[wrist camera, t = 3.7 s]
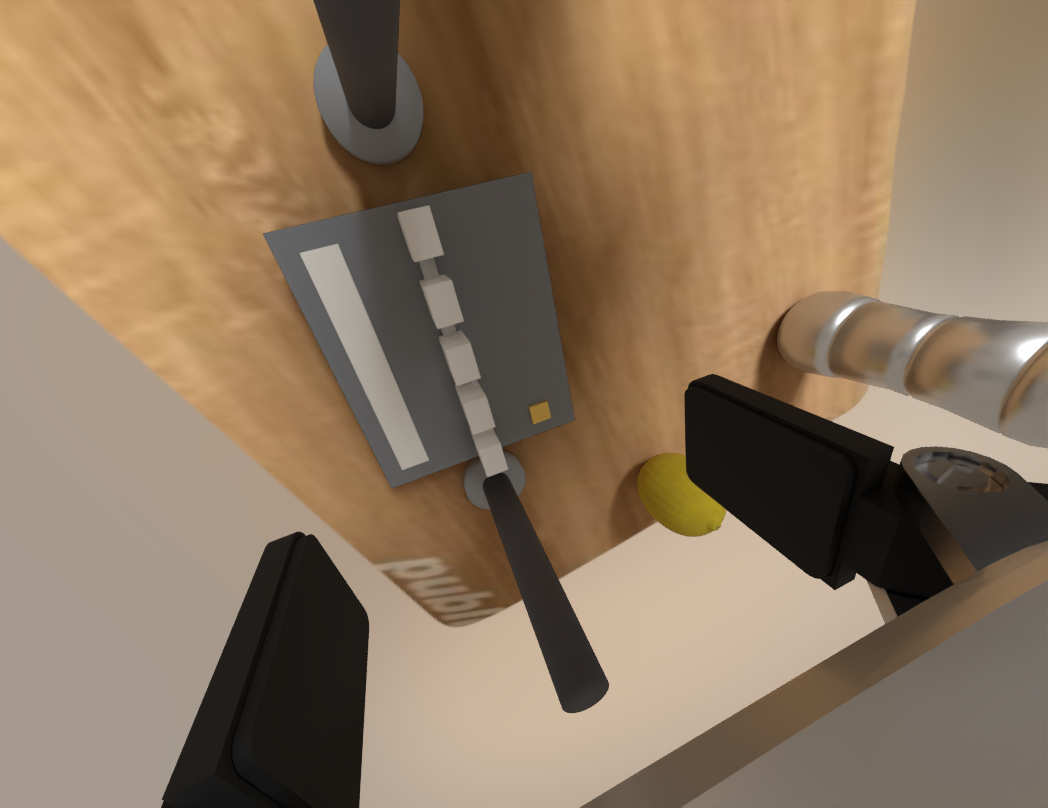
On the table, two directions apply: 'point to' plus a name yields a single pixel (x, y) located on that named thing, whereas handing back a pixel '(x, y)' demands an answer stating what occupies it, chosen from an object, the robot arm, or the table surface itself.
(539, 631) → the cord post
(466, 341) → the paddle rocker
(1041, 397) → the plastic bottle
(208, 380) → the table surface
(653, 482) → the lemon
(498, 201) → the breaker panel
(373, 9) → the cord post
